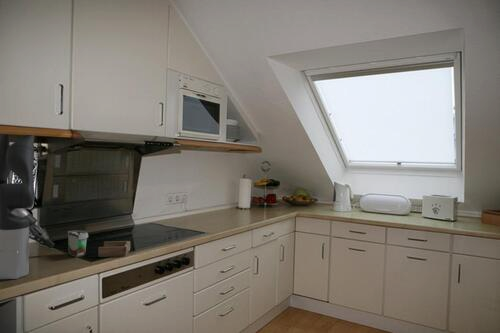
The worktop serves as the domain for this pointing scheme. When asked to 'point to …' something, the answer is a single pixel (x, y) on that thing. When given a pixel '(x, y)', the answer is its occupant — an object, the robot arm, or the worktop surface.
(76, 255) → the food container
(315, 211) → the worktop surface
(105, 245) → the walnut tray
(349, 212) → the worktop surface
